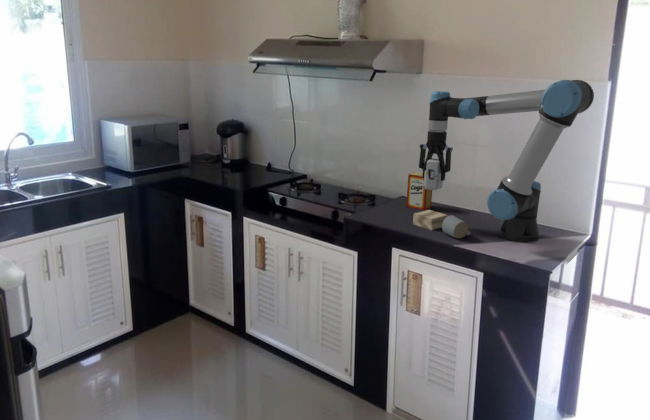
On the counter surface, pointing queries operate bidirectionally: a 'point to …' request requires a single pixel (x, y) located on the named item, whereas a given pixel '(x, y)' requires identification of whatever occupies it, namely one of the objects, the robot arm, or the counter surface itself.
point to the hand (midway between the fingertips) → (432, 186)
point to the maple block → (429, 219)
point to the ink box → (432, 174)
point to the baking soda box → (418, 192)
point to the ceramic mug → (455, 227)
